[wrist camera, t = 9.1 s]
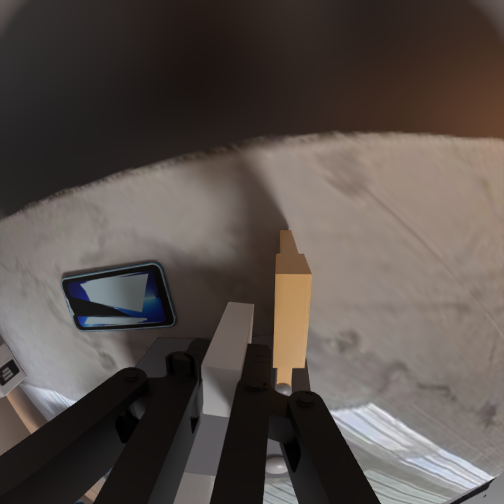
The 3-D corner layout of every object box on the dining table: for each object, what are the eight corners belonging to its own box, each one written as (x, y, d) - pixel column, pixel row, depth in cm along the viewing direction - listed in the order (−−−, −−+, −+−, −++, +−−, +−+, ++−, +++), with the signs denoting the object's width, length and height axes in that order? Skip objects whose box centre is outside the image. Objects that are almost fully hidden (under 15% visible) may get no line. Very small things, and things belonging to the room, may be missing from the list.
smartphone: (178, 326, 29) (77, 332, 30) (180, 322, 30) (81, 329, 31) (159, 260, 27) (58, 278, 29) (163, 258, 28) (63, 276, 30)
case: (164, 411, 33) (136, 467, 22) (138, 337, 30) (92, 390, 20) (304, 413, 31) (308, 480, 20) (302, 332, 28) (311, 401, 18)
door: (276, 229, 26) (275, 273, 12) (294, 229, 26) (311, 274, 12) (274, 333, 28) (269, 435, 15) (290, 333, 28) (295, 435, 15)
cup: (155, 437, 34) (118, 515, 19) (231, 456, 34) (213, 543, 18) (160, 472, 37) (134, 536, 21) (224, 487, 36) (209, 557, 21)
